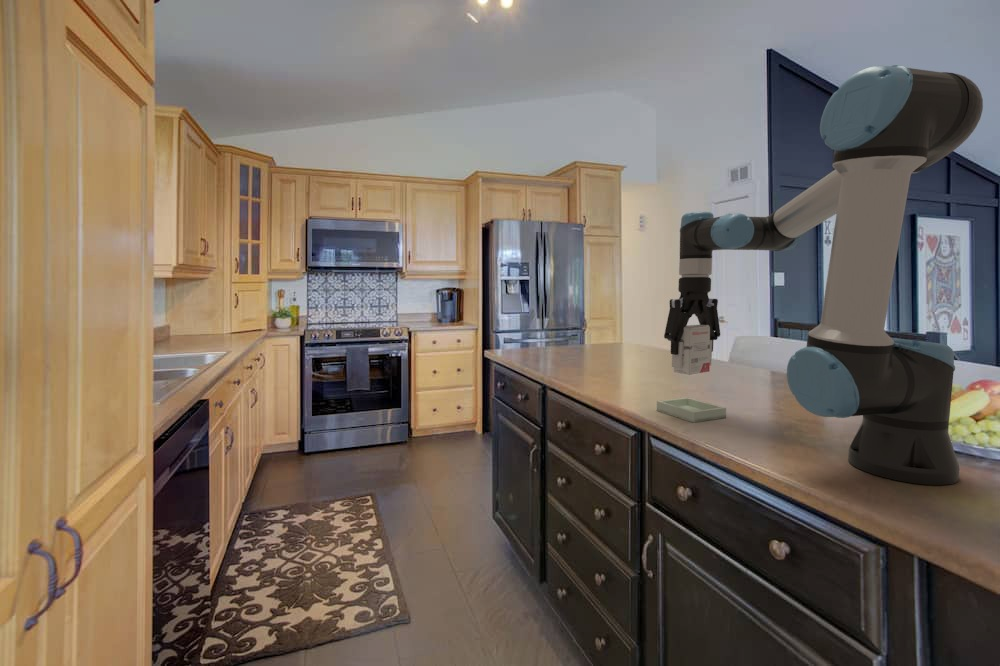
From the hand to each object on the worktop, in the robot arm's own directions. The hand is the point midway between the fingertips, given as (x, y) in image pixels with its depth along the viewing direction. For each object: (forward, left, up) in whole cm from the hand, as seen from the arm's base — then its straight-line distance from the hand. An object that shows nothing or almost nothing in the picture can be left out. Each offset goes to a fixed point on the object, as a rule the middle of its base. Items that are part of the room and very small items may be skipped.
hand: (691, 366), depth 124 cm
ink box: (0, 0, -2) cm, 2 cm away
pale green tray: (0, 0, -12) cm, 12 cm away
